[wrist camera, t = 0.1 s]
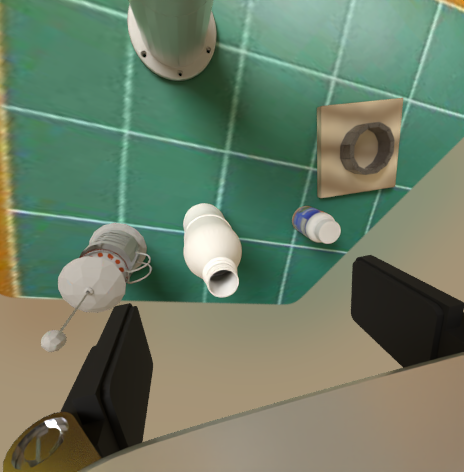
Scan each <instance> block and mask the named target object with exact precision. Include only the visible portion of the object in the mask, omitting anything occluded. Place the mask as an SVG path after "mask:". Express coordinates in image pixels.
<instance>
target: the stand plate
mask: <svg viewBox="0 0 464 472" xmlns="http://www.w3.org/2000/svg"><path fill="white" fill-rule="evenodd" d="M402 106H403V98H397V99H387V100H378V101H368V102H358V103H348V104H338V105H328V106H320V107H318V108H317V197H319V198H326V197H332V196H338V195H345V194H351V193H358V192H364V191H370V190H377V189H383V188H390V187H395V181H396V170H397V160H398V149H399V138H400V127H401V117H402ZM373 122H381V123H383V124H385V125H386V126H388V127H390V129H391V131H392V134H393V136H394V140H395V143H394V153H393V155H392V157H391V159H390V161H389V162H388V164H387V166H385V167H384V168H383V169H381V170H380V171H379V172H378V173H375V174H368V175H362V174H354V173H352V172H350V171H348V170H346V169H345V168H344V166H343V164H342V162H341V160H340V145H341V143H342V141H343V139H344V137H345V135H346V134H347V132H349V131H350V130H351V129H352V128H354V127H355V126H356V125H361V124H366V123H373ZM377 152H378V141H377V138H376V136H375V134H374V133H373V132H371V131H369V130H368V129H367V130H366V131H365V132H363V133H362V134H361V135H360V136H359V138H358V140H357V142H356V144H355V149H354V158H355V160H356V162H357V164H358V166H360V167H362V168H365V167H367V166H368V165H369V164H371V163H372V162H373V160H374V158H375V156H376V154H377Z"/></svg>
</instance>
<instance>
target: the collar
mask: <svg viewBox="0 0 464 472" xmlns="http://www.w3.org/2000/svg"><path fill="white" fill-rule="evenodd" d="M367 129H368V130H369V131H371V132H373V133H374V134H375V136H376V138H377V141H378V152H377V154H376V156H375V158H374V160H373V162H372V163H371V164H369V165H368V166H367V167H365V168H362V167H360V166H358V164H357V162H356V160H355V158H354V149H355V144H356V142H357V140H358V138H359V136H360V135H361V134H362V133H363V132H365V131H366V130H367ZM394 143H395V140H394V136H393V134H392V131H391V129H390V127H388V126H386V125H385V124H383V123H381V122H373V123H366V124H361V125H356V126H355V127H354V128H352V129H351V130H350V131H349V132H347V134H346V135H345V137H344V139H343V141H342V143H341V145H340V160H341V162H342V164H343V166H344V168H345V169H346V170H348V171H350V172H352V173H354V174H362V175H368V174H375V173H378V172H379V171H380V170H381V169H383V168H384V167H385V166H387V164H388V162H389V161H390V159H391V157H392V155H393V153H394Z"/></svg>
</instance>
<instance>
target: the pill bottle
mask: <svg viewBox="0 0 464 472" xmlns="http://www.w3.org/2000/svg"><path fill="white" fill-rule="evenodd" d="M292 224H293V226H294V228H295V229H296V230H297V231H299V232H300V233H302V234H303V235H305V236H306V237H308V238H309V239H311V240H312V241H315V242H323V243H325V244H330V243H333V242H335V241H336V240H337V239H338V237H339V236H340V232H341V229H340V226H339V224H338V223H337V222H335V220H334V218H333V217H332V216H331V215H329V214H327V213H325V212H322V211H320V210H318V209H315V208H313V207H310V206H302V207H300V208H298V209H297V210H296V211H295V213H294V214H293V217H292Z"/></svg>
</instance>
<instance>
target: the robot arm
mask: <svg viewBox="0 0 464 472" xmlns="http://www.w3.org/2000/svg"><path fill="white" fill-rule="evenodd" d="M128 1H129V3H130V4H129V9H128V18H127V23H128V32H129V35H130V39H131V42H132V45H133V47H134V49H135V51H136V53H137V55H138V56H139V58H140V59H141V61H142V62H143V63H144V64H145V66H147V67H148V68H149V69H150V70H151V71H152V72H154V73H155V74H157V75H158V76H160V77H162V78H165V79H168V80H173V81H184V80H188V79H191V78H193V77H195V76H197V75H199V74H200V73H201V72H202V71H203V70H204V69H205V68H206V67H207V65H208V64H209V62H210V60H211V58H212V56H213V53H214V49H215V44H216V24H215V20H214V16H213V13H212V11H211V10H212V5H213V0H128ZM206 51H209V52H210V53H207V52H206ZM143 55H146V57H145V58H144V57H143ZM179 73H181V74H182V76H179ZM463 310H464V303H463V302H462V301H460V300H458V299H456V298H454V297H452V296H450V295H448V294H446V293H444V292H442V291H440V290H438V289H436V288H435V287H433V286H431V285H429V284H427V283H425V282H423V281H421V280H419V279H417V278H415V277H413V276H411V275H409V274H407V273H405V272H403V271H401V270H400V269H397V268H396V267H394V266H392V265H390V264H388V263H386V262H384V261H382V260H380V259H378V258H376V257H374V256H372V255H368V256H363V257H358V258H357V259H356V261H355V262H354V263H353V271H352V298H351V316H352V318H353V320H354V321H355V322H356V323H357V324H358V325H359V326H360V327H361V328H362V329H364V331H365V332H367V333H368V334H369V335H370V336H371V337H372V338H373V339H374V340H375V341H376V342H377V343H378V344H379V345H380V346H381V347H382V348H383V349H384V350H385V351H386V352H388V353H389V354H390V355H391V356H392V357H393V358H394V359H395V360H396V361H397V362H398V363H399V364H400V365H401V366H402V367H403V368H401V369H397V370H393V371H390V372H386V373H382V374H378V375H375V376H371V377H368V378H364V379H360V380H357V381H353V382H350V383H346V384H342V385H339V386H335V387H331V388H328V389H324V390H321V391H317V392H313V393H310V394H306V395H303V396H299V397H295V398H292V399H288V400H284V401H281V402H277V403H274V404H271V405H267V406H264V407H260V408H257V409H253V410H249V411H246V412H242V413H239V414H235V415H232V416H228V417H225V418H221V419H217V420H214V421H210V422H207V423H204V424H200V425H197V426H194V427H190V428H187V429H184V430H180V431H177V432H174V433H170V434H167V435H164V436H161V437H157V438H154V439H151V440H148V441H145V442H142V441H143V434H144V427H145V419H146V413H147V406H148V399H149V392H150V385H151V378H152V371H153V362H152V357H151V354H150V351H149V346H148V343H147V339H146V336H145V332H144V329H143V326H142V322H141V318H140V315H139V311H138V308H137V306H134V307H132V305H131V304H130V303H129V304H124V305H119V306H115V307H114V309H113V311H112V313H111V315H110V317H109V320H108V322H107V324H106V326H105V328H104V330H103V333H102V334H101V337H100V339H99V341H98V343H97V345H96V346H94V347H92V348H91V350H90V352H89V354H88V356H87V358H86V360H85V362H84V364H83V366H82V368H81V370H80V372H79V375H78V376H77V379H76V381H75V383H74V385H73V387H72V389H71V391H70V393H69V395H68V397H67V399H66V401H65V403H64V406H63V408H62V410H61V412H57V413H53V414H50V415H48V416H46V417H43V418H42V419H40V420H38V421H37V422H35V423H34V424H32V425H31V426H30V427H29V428H27V429H26V430H25V431H24V432H23V433H22V434H21V435H20V436H19V437H18V438H17V439H16V440H15V441H14V443H13V444H12V446H11V447H10V449H9V450H8V452H7V454H6V456H5V459H4V461H3V472H464V312H463Z"/></svg>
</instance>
